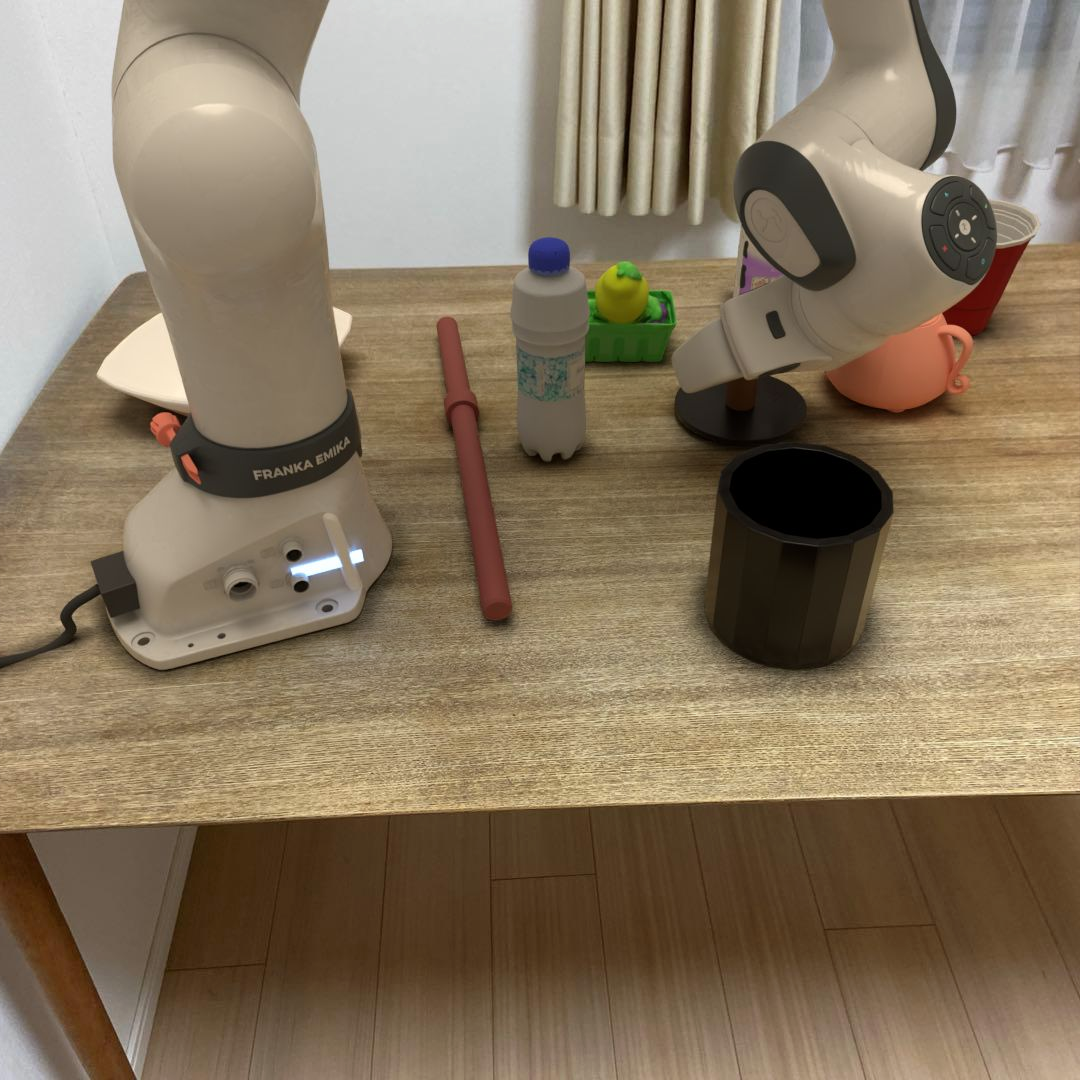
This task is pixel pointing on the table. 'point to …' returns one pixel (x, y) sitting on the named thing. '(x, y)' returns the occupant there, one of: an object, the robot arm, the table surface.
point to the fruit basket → (628, 318)
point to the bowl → (163, 364)
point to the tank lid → (743, 411)
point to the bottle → (550, 350)
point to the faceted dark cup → (795, 553)
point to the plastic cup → (996, 267)
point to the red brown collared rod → (473, 475)
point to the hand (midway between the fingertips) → (741, 365)
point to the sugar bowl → (907, 368)
